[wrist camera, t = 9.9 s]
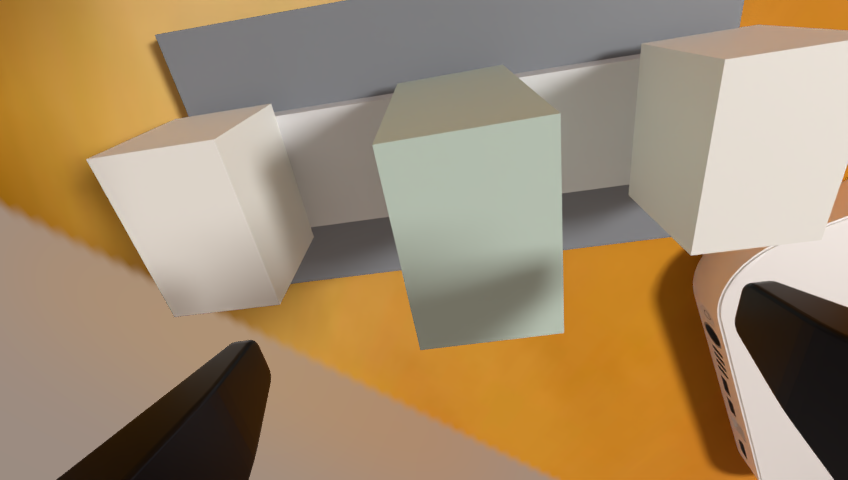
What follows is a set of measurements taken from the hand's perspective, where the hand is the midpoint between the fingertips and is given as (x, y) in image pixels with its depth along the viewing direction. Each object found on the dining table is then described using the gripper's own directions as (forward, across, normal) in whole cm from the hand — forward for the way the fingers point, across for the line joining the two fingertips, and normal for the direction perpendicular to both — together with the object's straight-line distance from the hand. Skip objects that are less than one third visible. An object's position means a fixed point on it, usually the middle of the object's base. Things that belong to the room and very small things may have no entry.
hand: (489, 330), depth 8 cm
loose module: (+11, 0, 0) cm, 11 cm away
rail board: (+13, 0, 0) cm, 13 cm away
